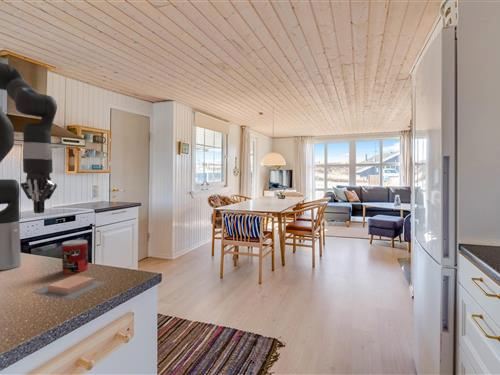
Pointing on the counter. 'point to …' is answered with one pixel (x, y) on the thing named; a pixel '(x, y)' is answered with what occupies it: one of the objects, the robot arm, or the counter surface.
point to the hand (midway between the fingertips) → (39, 212)
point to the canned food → (74, 256)
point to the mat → (72, 295)
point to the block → (70, 284)
